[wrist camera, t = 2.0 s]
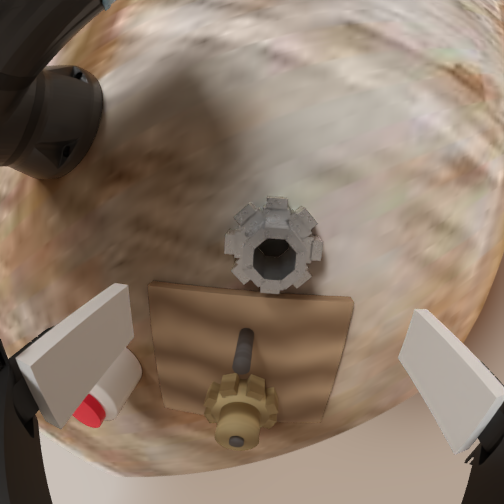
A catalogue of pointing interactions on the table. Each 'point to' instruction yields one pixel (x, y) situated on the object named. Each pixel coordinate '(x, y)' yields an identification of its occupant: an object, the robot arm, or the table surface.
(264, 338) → the gear board
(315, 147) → the table surface
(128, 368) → the pill bottle
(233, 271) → the steel gear
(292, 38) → the table surface
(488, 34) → the table surface
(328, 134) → the table surface
